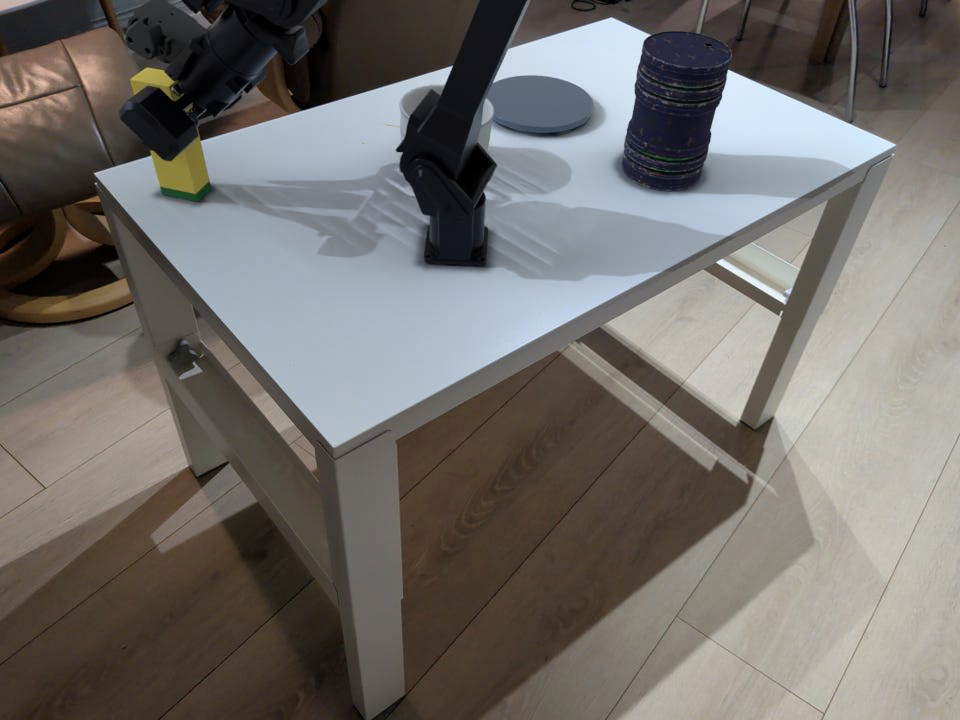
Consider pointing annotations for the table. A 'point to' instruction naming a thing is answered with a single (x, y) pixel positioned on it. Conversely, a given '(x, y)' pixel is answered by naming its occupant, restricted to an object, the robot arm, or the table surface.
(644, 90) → the dark purple barrel
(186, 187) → the yellow green tall block
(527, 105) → the plate
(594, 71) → the table surface
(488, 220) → the table surface
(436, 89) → the teacup
